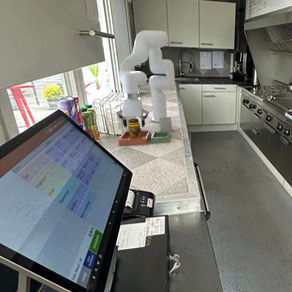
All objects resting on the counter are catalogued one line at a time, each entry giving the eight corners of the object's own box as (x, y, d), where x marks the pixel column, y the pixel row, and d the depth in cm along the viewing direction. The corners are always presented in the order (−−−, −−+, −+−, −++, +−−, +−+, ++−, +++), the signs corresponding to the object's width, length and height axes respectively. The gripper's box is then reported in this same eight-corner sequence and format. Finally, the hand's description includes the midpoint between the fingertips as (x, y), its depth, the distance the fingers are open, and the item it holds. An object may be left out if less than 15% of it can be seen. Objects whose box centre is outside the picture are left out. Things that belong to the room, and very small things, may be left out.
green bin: (153, 137, 143) (153, 131, 142) (169, 137, 145) (169, 131, 144) (151, 143, 133) (151, 137, 132) (168, 143, 135) (168, 137, 133)
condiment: (137, 142, 133) (134, 121, 128) (124, 140, 135) (121, 120, 130) (145, 138, 139) (142, 118, 134) (133, 136, 141) (130, 116, 137)
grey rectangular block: (172, 132, 153) (170, 117, 149) (161, 133, 150) (159, 118, 146) (171, 130, 156) (170, 116, 152) (160, 132, 153) (159, 117, 149)
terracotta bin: (126, 136, 143) (125, 130, 142) (150, 135, 146) (150, 130, 145) (119, 145, 128) (118, 139, 127) (146, 144, 131) (146, 138, 130)
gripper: (148, 95, 133) (151, 124, 139) (115, 94, 130) (119, 125, 136) (146, 97, 126) (149, 128, 133) (111, 97, 123) (116, 128, 129)
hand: (134, 126), depth 134 cm, fingers open, 8 cm apart
